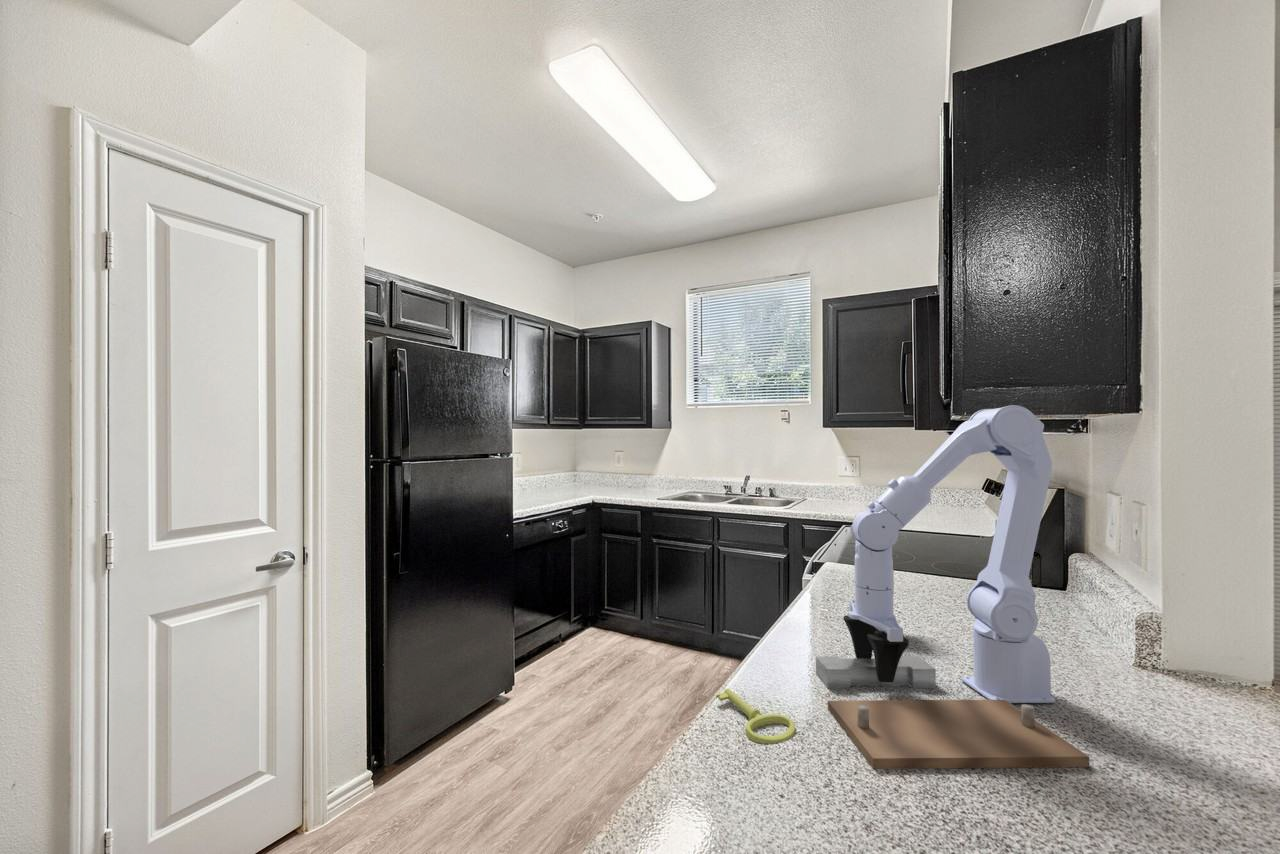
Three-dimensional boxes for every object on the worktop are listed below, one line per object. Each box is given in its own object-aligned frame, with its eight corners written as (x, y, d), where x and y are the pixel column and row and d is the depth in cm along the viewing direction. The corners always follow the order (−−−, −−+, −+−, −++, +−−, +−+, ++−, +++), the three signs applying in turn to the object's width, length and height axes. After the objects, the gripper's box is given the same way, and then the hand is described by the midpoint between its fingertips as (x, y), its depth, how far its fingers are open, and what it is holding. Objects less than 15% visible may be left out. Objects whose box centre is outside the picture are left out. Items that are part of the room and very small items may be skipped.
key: (725, 700, 80) (726, 685, 80) (802, 732, 71) (802, 716, 71) (696, 718, 75) (696, 702, 75) (774, 755, 66) (774, 737, 66)
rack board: (1005, 708, 77) (1004, 682, 77) (1089, 766, 63) (1088, 736, 63) (828, 709, 76) (827, 683, 76) (873, 768, 62) (872, 737, 62)
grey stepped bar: (918, 674, 88) (918, 656, 88) (935, 688, 83) (935, 668, 83) (816, 674, 88) (815, 656, 88) (827, 688, 83) (827, 669, 83)
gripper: (832, 574, 93) (832, 652, 93) (869, 598, 79) (870, 691, 78) (871, 574, 93) (872, 652, 93) (916, 598, 79) (917, 691, 79)
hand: (874, 670), depth 86 cm, fingers open, 7 cm apart
